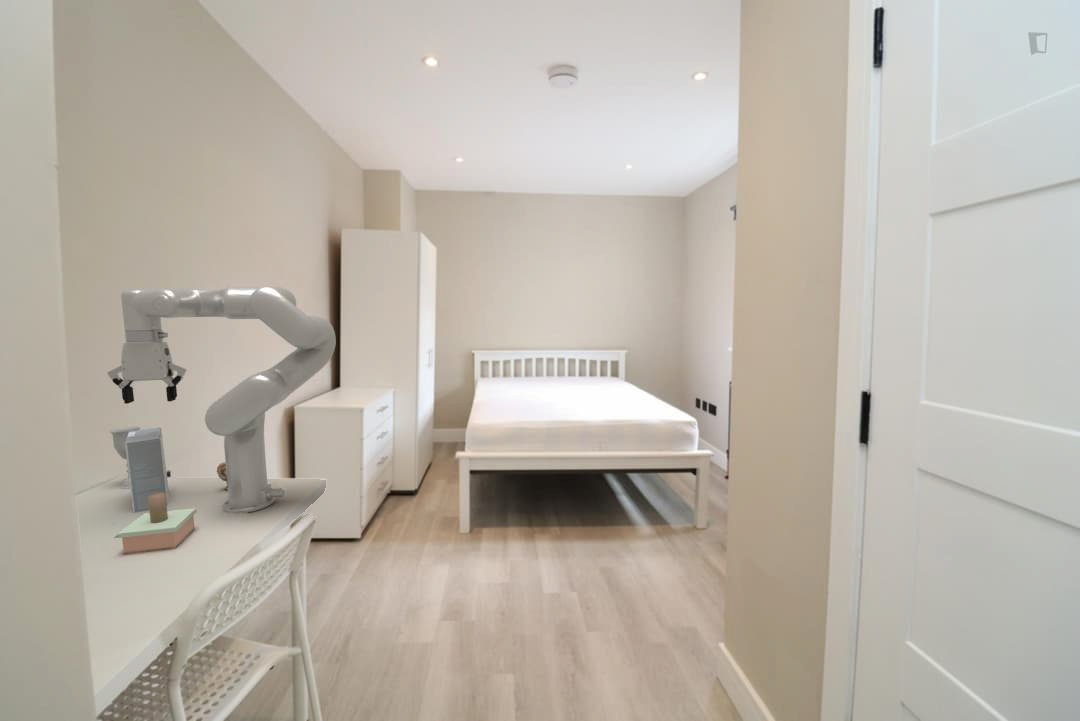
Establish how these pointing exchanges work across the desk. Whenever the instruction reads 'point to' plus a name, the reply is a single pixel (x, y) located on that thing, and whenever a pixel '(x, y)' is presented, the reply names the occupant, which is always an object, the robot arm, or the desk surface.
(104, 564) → the desk surface
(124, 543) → the dish
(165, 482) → the hard drive box
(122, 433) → the chalice
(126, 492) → the desk surface
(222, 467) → the lion figurine
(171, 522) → the lid
